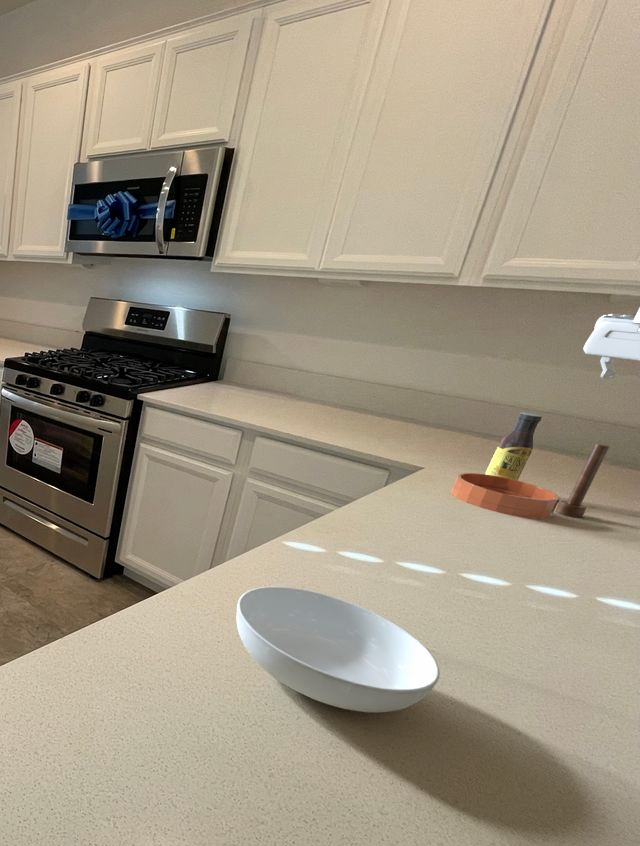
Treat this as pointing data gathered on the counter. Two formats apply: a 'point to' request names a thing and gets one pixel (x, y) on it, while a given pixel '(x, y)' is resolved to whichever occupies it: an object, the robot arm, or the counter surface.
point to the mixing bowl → (505, 495)
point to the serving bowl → (334, 650)
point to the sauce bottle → (514, 448)
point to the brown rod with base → (583, 484)
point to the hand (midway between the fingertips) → (635, 382)
